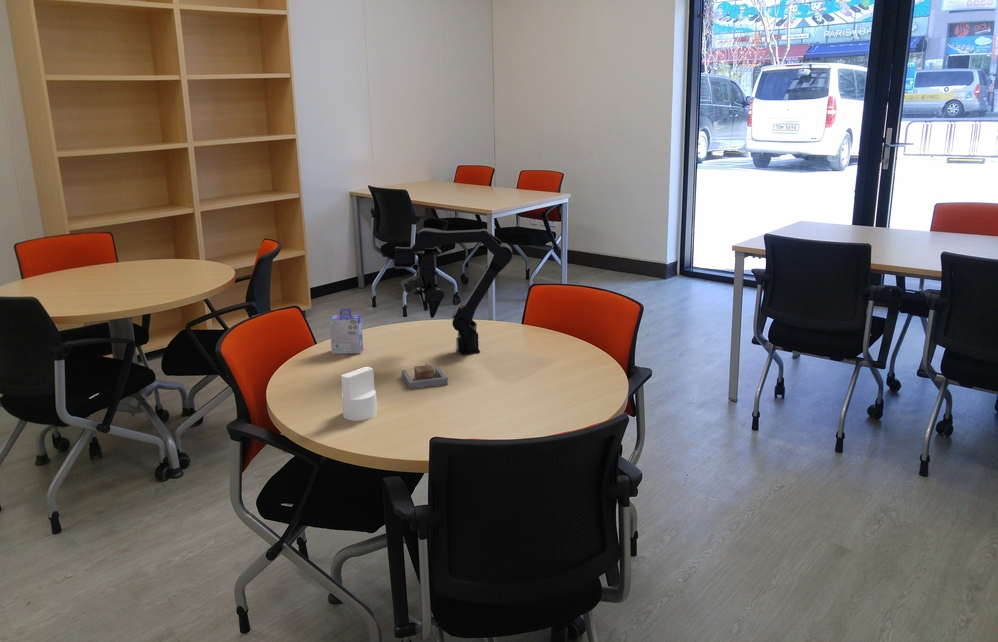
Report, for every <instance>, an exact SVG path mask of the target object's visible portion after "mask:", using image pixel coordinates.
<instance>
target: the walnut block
mask: <svg viewBox="0 0 998 642" xmlns="http://www.w3.org/2000/svg"><path fill="white" fill-rule="evenodd" d="M413 370H414V371H413V373H414V374H413V375H414V381H417V380H425V379H432V378H436V376H435V375H436V374H435V368H433V366H432V365H431V364H424V365H416V366H413Z"/></svg>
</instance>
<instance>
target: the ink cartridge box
mask: <svg viewBox="0 0 998 642" xmlns="http://www.w3.org/2000/svg"><path fill="white" fill-rule="evenodd" d="M328 320H329V334H330V335H329V336H330V345H331V346H330V347H331V354H332V355H333V354H335V355H336V354H337V355H338V354H339V355H341V354H345V355H346V354H347V355H349V354H350V355H351V354H352V355H353V354H361V353H362V352H363V350H364V340H363V339H364V338H363V324H362V323H363V322H362V314H352V308H340V310H339V314H338V315H336V314H334V315H332V316H330V318H329V319H328Z"/></svg>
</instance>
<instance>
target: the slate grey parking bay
mask: <svg viewBox="0 0 998 642" xmlns="http://www.w3.org/2000/svg"><path fill="white" fill-rule="evenodd" d="M434 375H436V376H437V377H435V378H432V379H425V380H417V381H416V380H413V379H412V378H411V376H410V375H409V373H408V371H407V370H406V369H403V370H401V377H402V379H403V381H404V382H405V385H408V386H407V387H408V389H409V390H414V389H415V388H416V389H423V388H430V387H431V386H432V387H438V386H437V385H439V386H445V385H444V384H447V385H449V382H448V381H449V380H448V376H447V375H446V374H445V372H444V371H443V370H442V369H441V368H440V366H439V365H435V366H434ZM438 377H439V378H438Z"/></svg>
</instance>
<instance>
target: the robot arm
mask: <svg viewBox="0 0 998 642" xmlns="http://www.w3.org/2000/svg"><path fill="white" fill-rule="evenodd" d="M469 243H470V244H472V243H482V245H483V246H484V247H485V248H486V249H487V250H488V251H489V252H490V253H491V258H490V260H489V263H488V266H487V268H486V269H485V270H484V272H483V274H482V276H481V278H480V279H479V281H478V283H477V284H476V285H475V287H474V289H473V290H472V292H471V294H470V295H469V297H468V298H467V300H466V301H465V302H464V303H463V304H462V303H461V302H458V305H457V306H456V307H457V308H456V309H455V310H453V313H452V317H451V318H452V323H451V325H452V327H453V328H454V329H453V330H456V332H458V333H457V337H456V339H455V341H456V342H455V343H456V350H457V351H458V353H460V355H469V354H471V355H472V354H478V353H481V350H480V348H479V332H477V327H478V326H477V325H478V324H477V322H476V321H474V320H473V319H474V315H475V313H476V310H477V308H478V306H479V305H480V303H481V302H482V300H483V298H484V296H485V295H486V293H487V292H488V290H489V288H490V287H491V285H492V284H493V282H494V281H495V278H496V277H497V276H498V274H499V273H500V272H502V271H503V270H504V269H505V268H506V267H507V265H508V264H509V263H510V262H511V261H512V259H513V249H512V247H511V246H510V245H509V244H507V243H504V242H502V241H501V240H500V239H498V237H496V236H495V235H493V233H491V232H490V231H489V230H488V229H487V228H481V229H465V230H463V229H462V230H444V229H443V230H442V229H437V228H431V227H423V228H421V229H420V230H419V231H418V233H417V235H416V240H415V243H413V244H412V245H411V246H408V247H407V246H406V247H402V246H396V247H394V258H393V263H394V264H393V267H394V269H413V267H414V266H415V265H417V270H416V271H415V274H414V275H412V276H410V277H408V278H405V279H403V280H401V281H400V284H401V286H402V288H403V290H404V292H405V293H407V294H409V293H411V292H412V291H414V292H415V293H417V294H418V295H419V297H420V301H421V304H422V308H423V310H424V311H428V313H429V317H430V318H431V319H434V318H435V316H436V314H437V311H438V310H439V309H438V308H439V307H440V305H441V302H443V300H444V298H445V292H444V291H443V290H442V289H441V288H440V287H439V283H437V276H438V273H439V272H438V270H437V264H436V263H437V262H436V257H437V256H436V255H441V253H442V250H441V249H439V246H442V245H447V244H448V245H449V244H469ZM423 249H424V250H423Z"/></svg>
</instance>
